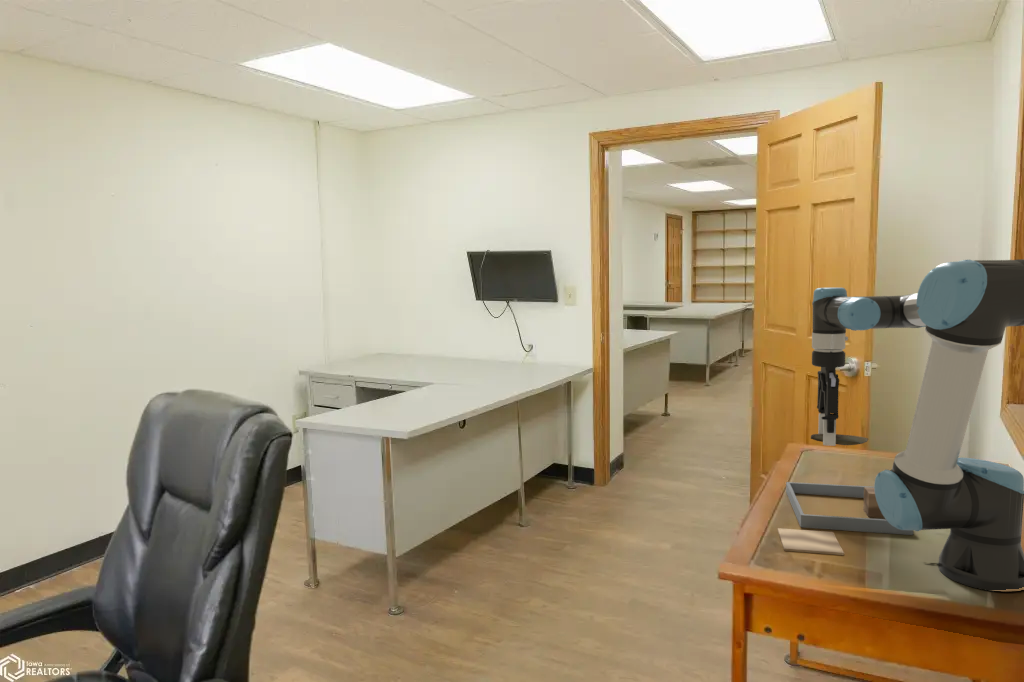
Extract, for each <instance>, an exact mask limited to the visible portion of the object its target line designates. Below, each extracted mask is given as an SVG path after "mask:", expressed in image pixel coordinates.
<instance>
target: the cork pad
mask: <svg viewBox="0 0 1024 682" xmlns="http://www.w3.org/2000/svg"><path fill="white" fill-rule="evenodd" d="M777 533H778V536H779V538H780V541H781V545H782V548H783V551H786V552H798V553H808V554H809V553H811V554H823V555H837V556H845V552H844V550H843V548H842V547H841V545H840V542H839V540H838V539H837V537H836V535H835V533H834V531H823V530H821V531H820V530H812V529H811V530H807V529H796V528H794V529H793V528H779V527H778V528H777Z"/></svg>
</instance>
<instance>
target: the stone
mask: <svg viewBox="0 0 1024 682" xmlns="http://www.w3.org/2000/svg"><path fill="white" fill-rule="evenodd" d="M810 439H811V440H814V441H817V442H822V443H823V434H818V433H814V434H811V435H810ZM868 440H869V438H867V437H865V436H858V435H850V434H837V433H836V445H838V446H856V445H862V444H865V443H867V442H868Z"/></svg>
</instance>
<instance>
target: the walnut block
mask: <svg viewBox="0 0 1024 682" xmlns="http://www.w3.org/2000/svg"><path fill="white" fill-rule="evenodd" d="M862 510H863V512H864V513H865V515H866V516H867V518H875V519H885V517H884V516H883V514H882V513H881V511H880V509H879V506H878V503H877V500H876V497H875V490H874V488H870V487H864V498H863V507H862Z"/></svg>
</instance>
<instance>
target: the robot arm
mask: <svg viewBox="0 0 1024 682" xmlns="http://www.w3.org/2000/svg"><path fill="white" fill-rule="evenodd" d="M847 293H848V291H847V290H846V288H844V287H817V288H815V290H813V299H812V302H811V303H812V332H811V348H812V349H813V351H811V365H812V366H814V367H819V368H820V370H818V371H817V400H816V401H817V403H816V404H817V406H816V409H818V410H817V411H818V428H817V430H818V433H817V434H823V442H822V445H823V446H831V447H833V446H834V447H835V446H836V445H837V444H836V434H837V419H839V418H840V417H839V387H840V378H839V374H837V371H836V369H837V368H842V367H845V365H846V352H845V351H844V350H845V349H846V341H848V340H849V336H846V334H847V333H846V332H847V330H851V331H867V330H868V331H869V330H870V329H872V330H873V329H874V330H876V329H877V330H878V329H906V328H907V329H919V328H925V330H924V331H925V332H926V334H928V336H929V337H930V338H931V346H930V350H929V354H928V357H927V360H926V361H927V362H926V366H925V370H924V373H923V376H922V377H923V378H922V382H921V386H920V390H919V394H918V399H917V402H916V406H915V410H914V414H913V419H912V423H911V428H910V431H909V435H908V439H907V443H906V448H905V450H903V451H900V452H898V453H897V454H895V456H894V459H893V464H892V468H891V469H884V470H882V471H880V472H878V473H877V475H876V476H875V479H874V484H873V487H874V490H875V497H876V500H877V503H878V506H879V509H880V511H881V513H882V514H883V516H884V517H885V518H884V519H886V520H887V521H888V522H889V523H890V524H891V525H892V526H893V527H895V528H897V529H900V530H913V532H914V531H915V532H920V531H925V530H926V531H929V530H948V529H950V532H949V535H948V537H947V539H946V541H945V544H944V545H943V547H942V550H941V551H940V554H939V557H938V570H939V571H940V573H941V574H942V575H943V576H945V577H947V578H948V579H950V580H952V581H954V582H956V583H959V584H961V585H964V586H967V587H971V588H973V589H977V588H979V589H978V590H982V589H986V590H985V591H987V590H1006V589H1019V588H1022V587H1024V550H1023V547H1022V531H1023V515H1024V514H1023V513H1024V475H1023V474H1022V472H1020V471H1019V470H1017V469H1016V468H1013V467H1011V466H1008V465H1007V464H1006V465H1005V464H1002V463H997V462H994V461H989V460H985V459H979V458H973V457H972V458H971V457H960V453H961V450H962V446H963V443H964V439H965V435H966V431H967V428H968V425H969V422H970V418H971V413H972V411H973V406H974V402H975V399H976V396H977V392H978V389H979V385H980V381H981V378H982V373H983V372H984V371H983V370H984V366H985V365H986V364H985V363H986V359H987V357H988V352H989V350H992V349H993V348H995V347H998V346H999V345H1001V344H1002V341H1003V338H1004V334H1005V330H1006V328H1007V327H1023V326H1024V258H1023V259H1019V258H1017V259H994V260H993V259H991V260H989V259H987V260H986V259H985V260H984V259H983V260H982V259H979V260H978V259H975V260H974V259H963V260H958V261H957V260H956V261H948V262H947V261H946V262H944V263H940V264H939V265H936V267H934V268H932V269H931V270H930V271H929V272H928V273H927V274H926V275H925V276H924V278H923V279H922V281H921V283H920V285H919V288H918V291H917V293H910V294H904V295H902V294H901V295H882V296H881V295H880V296H877V295H876V296H873V295H867V296H848V294H847Z"/></svg>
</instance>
